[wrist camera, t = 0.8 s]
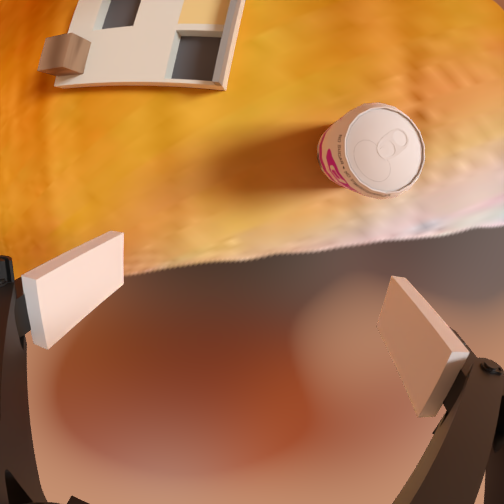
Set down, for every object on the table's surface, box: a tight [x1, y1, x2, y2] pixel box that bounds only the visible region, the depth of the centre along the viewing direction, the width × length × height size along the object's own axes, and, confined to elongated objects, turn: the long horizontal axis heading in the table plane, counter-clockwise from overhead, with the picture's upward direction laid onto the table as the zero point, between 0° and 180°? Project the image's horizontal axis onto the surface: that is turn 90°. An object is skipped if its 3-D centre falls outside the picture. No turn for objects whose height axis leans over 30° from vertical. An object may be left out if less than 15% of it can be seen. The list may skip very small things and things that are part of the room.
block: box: [37, 33, 91, 77], centre depth 31 cm, size 5×5×5 cm
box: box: [54, 0, 245, 91], centre depth 32 cm, size 26×16×4 cm, turn 80°
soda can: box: [317, 103, 425, 199], centre depth 29 cm, size 8×8×15 cm
